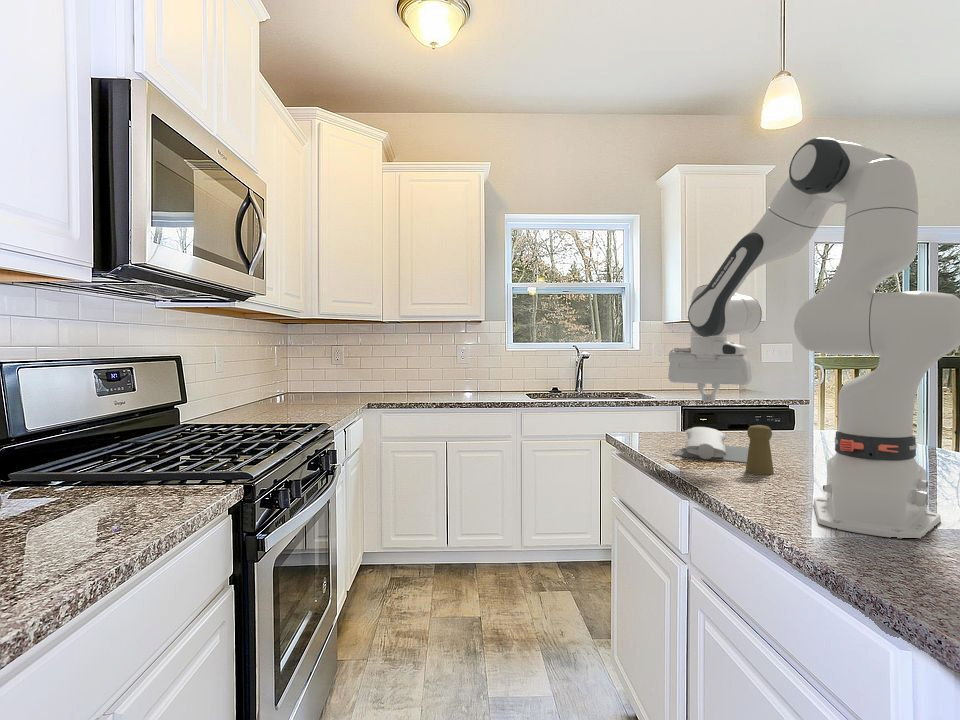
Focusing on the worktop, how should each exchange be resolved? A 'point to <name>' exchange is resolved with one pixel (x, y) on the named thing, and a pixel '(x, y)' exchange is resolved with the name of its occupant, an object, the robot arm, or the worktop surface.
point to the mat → (731, 455)
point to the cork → (759, 451)
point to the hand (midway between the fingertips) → (708, 401)
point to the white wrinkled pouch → (705, 442)
